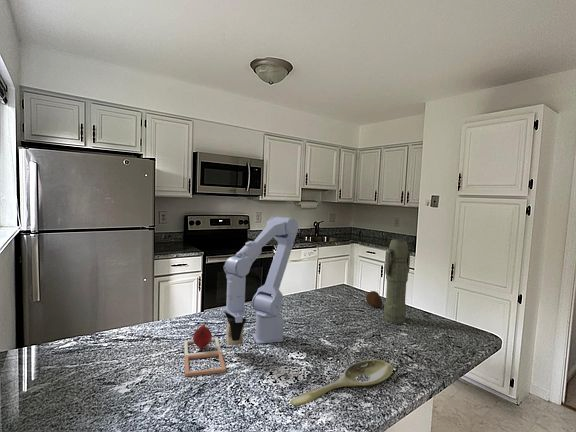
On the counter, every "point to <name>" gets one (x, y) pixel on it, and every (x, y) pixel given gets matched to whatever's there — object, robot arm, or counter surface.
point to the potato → (374, 299)
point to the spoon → (351, 379)
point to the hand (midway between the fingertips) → (234, 336)
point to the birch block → (229, 337)
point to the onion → (202, 336)
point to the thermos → (396, 280)
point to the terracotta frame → (208, 371)
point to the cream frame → (201, 352)
